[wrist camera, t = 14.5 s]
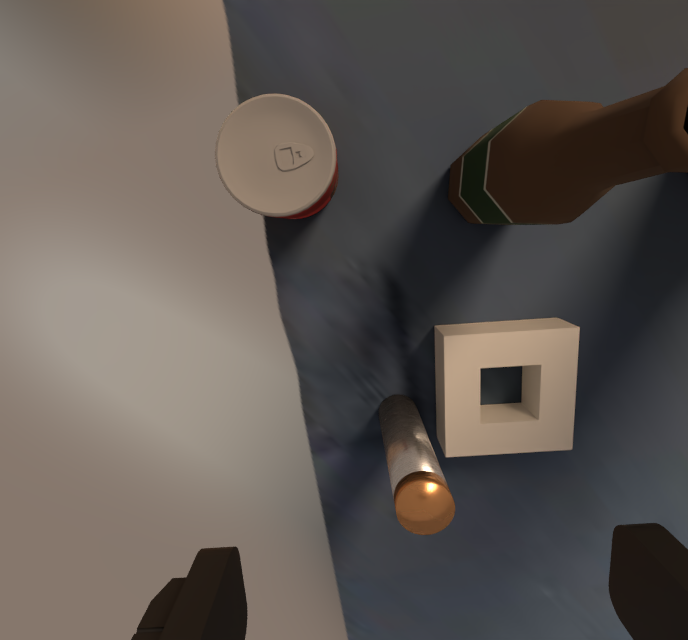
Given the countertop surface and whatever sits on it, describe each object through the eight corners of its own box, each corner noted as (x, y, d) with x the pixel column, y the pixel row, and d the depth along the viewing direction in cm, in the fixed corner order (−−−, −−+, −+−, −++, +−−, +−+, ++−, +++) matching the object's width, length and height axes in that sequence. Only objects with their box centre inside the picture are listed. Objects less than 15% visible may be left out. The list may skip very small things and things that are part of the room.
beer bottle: (516, 124, 37) (823, -56, 13) (538, 209, 38) (846, 183, 15) (432, 157, 37) (583, 40, 14) (458, 239, 39) (630, 260, 15)
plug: (416, 393, 42) (454, 482, 28) (417, 429, 43) (455, 533, 28) (377, 395, 42) (395, 485, 28) (379, 431, 43) (397, 536, 29)
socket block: (557, 317, 40) (579, 327, 37) (551, 429, 43) (572, 449, 39) (434, 325, 41) (443, 336, 37) (436, 436, 43) (445, 457, 39)
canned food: (352, 196, 38) (355, 185, 27) (274, 234, 39) (248, 237, 28) (316, 114, 36) (304, 68, 26) (236, 155, 37) (192, 126, 26)
